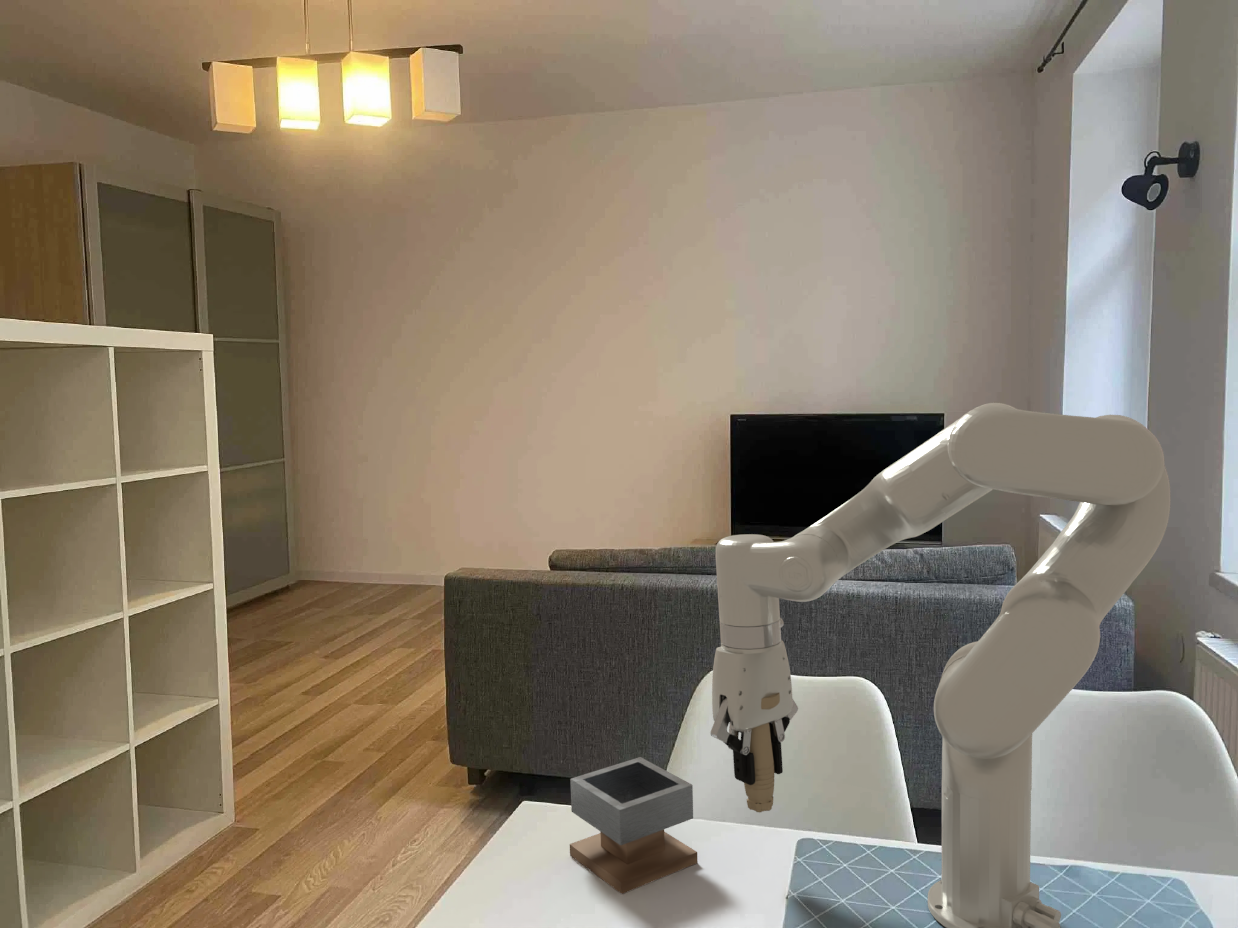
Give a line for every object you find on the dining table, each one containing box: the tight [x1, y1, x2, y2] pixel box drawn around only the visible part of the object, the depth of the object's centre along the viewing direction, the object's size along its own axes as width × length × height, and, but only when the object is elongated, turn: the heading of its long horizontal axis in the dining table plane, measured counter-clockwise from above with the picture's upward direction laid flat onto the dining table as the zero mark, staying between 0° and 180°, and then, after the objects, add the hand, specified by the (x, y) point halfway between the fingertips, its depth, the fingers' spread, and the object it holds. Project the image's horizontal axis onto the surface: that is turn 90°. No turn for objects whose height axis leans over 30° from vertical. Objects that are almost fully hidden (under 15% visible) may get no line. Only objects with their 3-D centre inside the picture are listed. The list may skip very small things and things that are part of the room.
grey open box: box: [569, 756, 694, 845], centre depth 122 cm, size 11×11×4 cm
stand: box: [569, 829, 699, 895], centre depth 122 cm, size 12×12×6 cm
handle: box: [743, 693, 780, 813], centre depth 118 cm, size 5×6×15 cm
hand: (758, 774), depth 118 cm, fingers closed on handle, 4 cm apart
